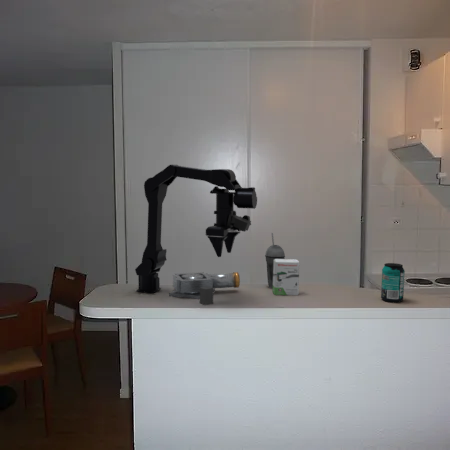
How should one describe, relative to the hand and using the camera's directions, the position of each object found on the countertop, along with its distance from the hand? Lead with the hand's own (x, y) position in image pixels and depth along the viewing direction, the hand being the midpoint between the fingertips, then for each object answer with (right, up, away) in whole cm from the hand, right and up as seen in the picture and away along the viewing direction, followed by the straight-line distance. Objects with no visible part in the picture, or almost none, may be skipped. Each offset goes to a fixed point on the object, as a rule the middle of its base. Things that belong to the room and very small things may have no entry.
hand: (224, 254), depth 165 cm
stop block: (-6, -15, -5) cm, 17 cm away
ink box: (+21, -14, +8) cm, 27 cm away
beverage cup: (+18, -13, +18) cm, 29 cm away
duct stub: (-11, -14, +7) cm, 19 cm away
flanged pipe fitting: (-6, -12, +8) cm, 16 cm away
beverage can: (+56, -15, 0) cm, 58 cm away
